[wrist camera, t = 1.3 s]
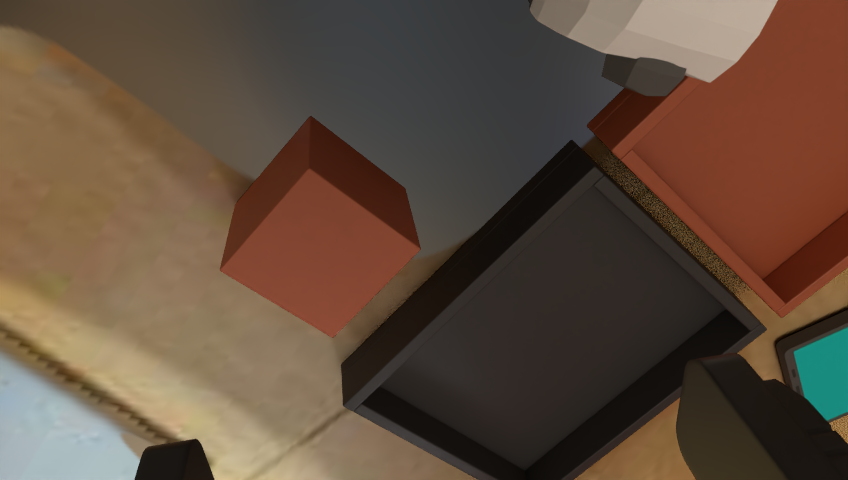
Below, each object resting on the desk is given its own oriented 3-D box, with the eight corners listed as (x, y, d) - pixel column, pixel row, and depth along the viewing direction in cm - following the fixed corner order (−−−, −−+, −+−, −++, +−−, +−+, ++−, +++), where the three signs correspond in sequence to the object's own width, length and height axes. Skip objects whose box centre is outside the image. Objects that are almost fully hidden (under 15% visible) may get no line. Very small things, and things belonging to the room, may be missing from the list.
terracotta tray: (585, 125, 27) (610, 151, 25) (910, -195, 23) (979, -200, 20) (748, 285, 33) (782, 318, 31) (1034, 54, 29) (1099, 73, 26)
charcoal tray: (340, 365, 32) (342, 406, 30) (571, 139, 28) (595, 166, 25) (520, 469, 38) (534, 510, 35) (735, 295, 33) (767, 330, 31)
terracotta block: (234, 204, 27) (218, 270, 23) (310, 114, 25) (309, 167, 21) (330, 267, 29) (332, 338, 25) (405, 188, 28) (421, 249, 23)
